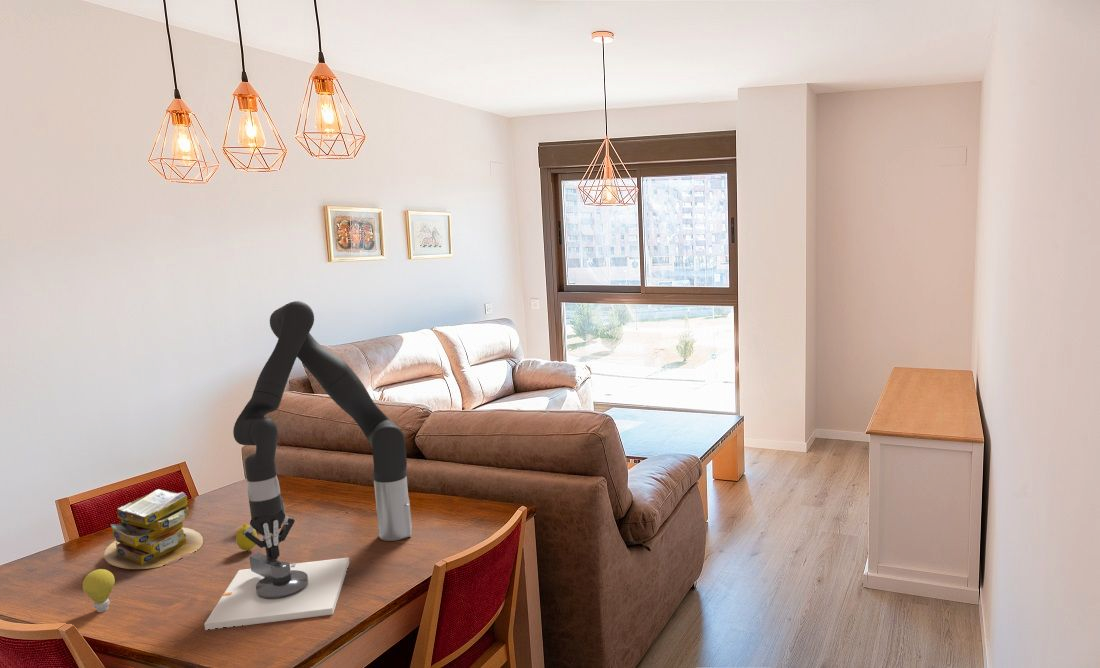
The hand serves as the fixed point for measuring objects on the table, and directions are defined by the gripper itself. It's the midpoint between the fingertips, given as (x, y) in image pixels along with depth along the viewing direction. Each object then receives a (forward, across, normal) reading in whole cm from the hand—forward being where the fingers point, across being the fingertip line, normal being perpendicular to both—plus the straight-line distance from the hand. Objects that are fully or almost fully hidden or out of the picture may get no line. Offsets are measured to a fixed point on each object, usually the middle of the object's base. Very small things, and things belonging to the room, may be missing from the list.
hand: (273, 559), depth 189 cm
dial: (+4, +2, +6) cm, 7 cm away
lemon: (+6, 0, -25) cm, 25 cm away
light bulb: (+5, +37, -15) cm, 40 cm away
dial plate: (+6, +1, +9) cm, 11 cm away
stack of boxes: (+5, +20, -45) cm, 49 cm away
